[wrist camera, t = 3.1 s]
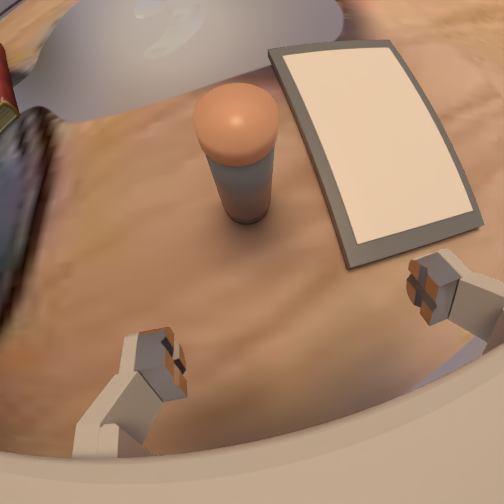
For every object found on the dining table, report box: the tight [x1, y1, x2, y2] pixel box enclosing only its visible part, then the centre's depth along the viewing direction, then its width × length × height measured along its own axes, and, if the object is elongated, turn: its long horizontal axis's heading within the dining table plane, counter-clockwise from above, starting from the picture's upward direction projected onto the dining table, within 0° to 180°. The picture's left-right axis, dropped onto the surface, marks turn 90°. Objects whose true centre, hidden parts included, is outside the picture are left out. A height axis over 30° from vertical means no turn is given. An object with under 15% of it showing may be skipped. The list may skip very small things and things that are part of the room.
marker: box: [193, 83, 279, 224], centre depth 19 cm, size 4×4×12 cm
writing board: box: [268, 40, 484, 269], centre depth 26 cm, size 14×22×1 cm, turn 15°
